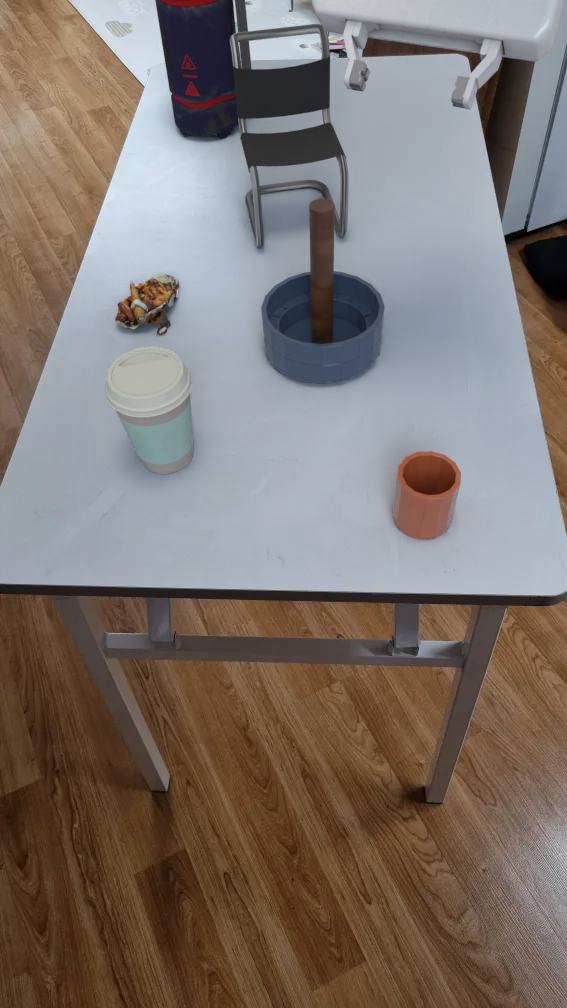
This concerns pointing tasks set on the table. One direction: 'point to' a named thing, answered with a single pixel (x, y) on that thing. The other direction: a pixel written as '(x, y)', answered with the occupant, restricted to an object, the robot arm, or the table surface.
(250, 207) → the chair
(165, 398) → the coffee cup
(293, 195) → the table surface
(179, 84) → the navy blue cylinder
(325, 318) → the brown wooden rod
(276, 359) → the bowl
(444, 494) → the crock
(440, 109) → the table surface
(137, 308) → the loaded food tray
